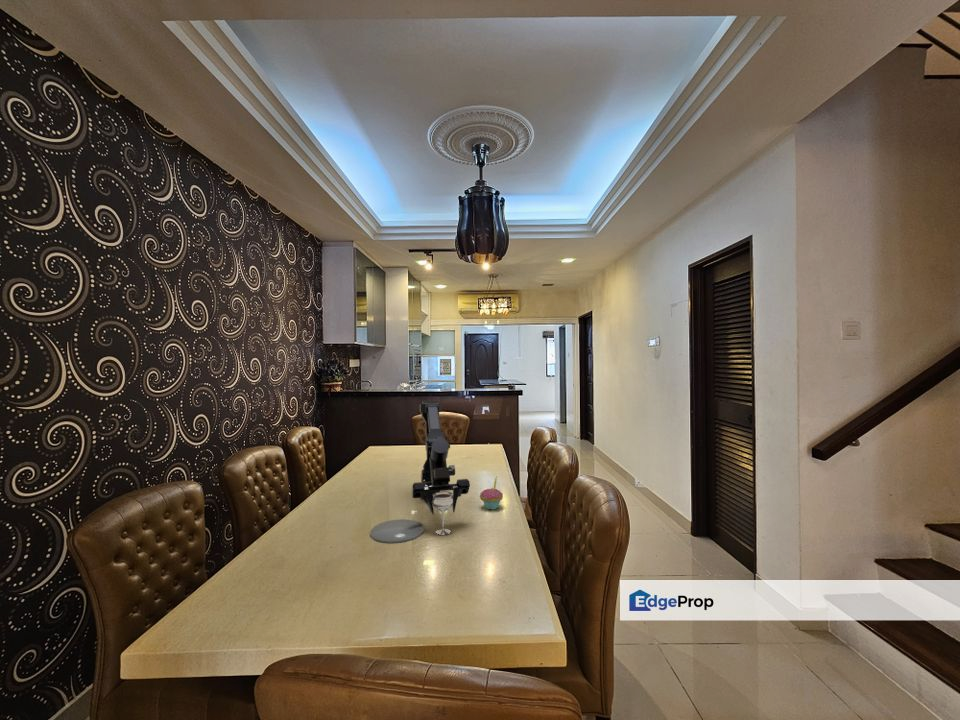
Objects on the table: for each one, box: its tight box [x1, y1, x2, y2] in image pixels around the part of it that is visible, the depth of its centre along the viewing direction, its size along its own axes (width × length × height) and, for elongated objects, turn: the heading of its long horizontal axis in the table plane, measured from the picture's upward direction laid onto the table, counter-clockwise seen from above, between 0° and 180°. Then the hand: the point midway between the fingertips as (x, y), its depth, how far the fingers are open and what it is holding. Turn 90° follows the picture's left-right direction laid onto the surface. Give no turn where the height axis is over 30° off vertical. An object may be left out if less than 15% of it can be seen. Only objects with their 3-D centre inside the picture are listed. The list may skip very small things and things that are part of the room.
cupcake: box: [479, 476, 504, 510], centre depth 156 cm, size 9×8×12 cm
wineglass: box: [432, 490, 453, 536], centre depth 134 cm, size 7×7×12 cm
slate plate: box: [370, 519, 425, 544], centre depth 135 cm, size 17×17×1 cm
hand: (443, 512), depth 133 cm, fingers closed on wineglass, 6 cm apart
